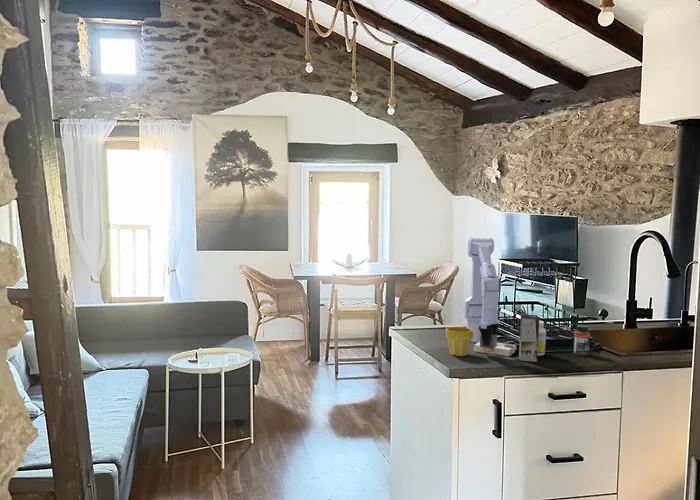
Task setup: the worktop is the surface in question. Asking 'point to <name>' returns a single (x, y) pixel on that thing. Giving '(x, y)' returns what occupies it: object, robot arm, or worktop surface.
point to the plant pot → (459, 340)
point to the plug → (492, 344)
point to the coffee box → (528, 338)
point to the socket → (498, 349)
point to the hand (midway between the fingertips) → (488, 344)
